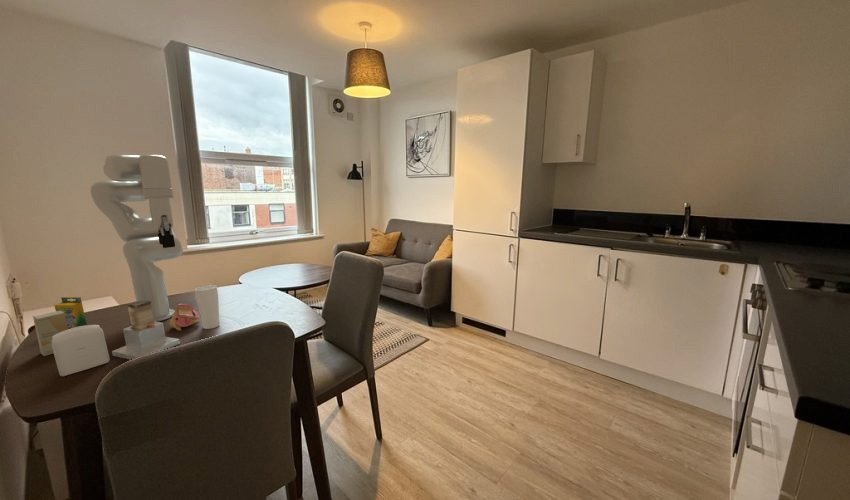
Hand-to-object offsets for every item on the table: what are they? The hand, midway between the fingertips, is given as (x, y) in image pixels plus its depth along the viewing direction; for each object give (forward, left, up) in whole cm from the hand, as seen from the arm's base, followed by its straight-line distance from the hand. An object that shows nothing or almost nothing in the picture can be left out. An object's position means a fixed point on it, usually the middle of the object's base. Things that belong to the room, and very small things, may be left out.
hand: (167, 245), depth 112 cm
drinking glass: (+7, +6, -31) cm, 33 cm away
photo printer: (-3, -26, -31) cm, 41 cm away
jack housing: (+3, -13, -31) cm, 34 cm away
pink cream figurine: (-2, +4, -32) cm, 32 cm away
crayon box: (-40, -10, -31) cm, 52 cm away
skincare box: (-24, -22, -31) cm, 45 cm away
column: (+3, -13, -29) cm, 32 cm away
